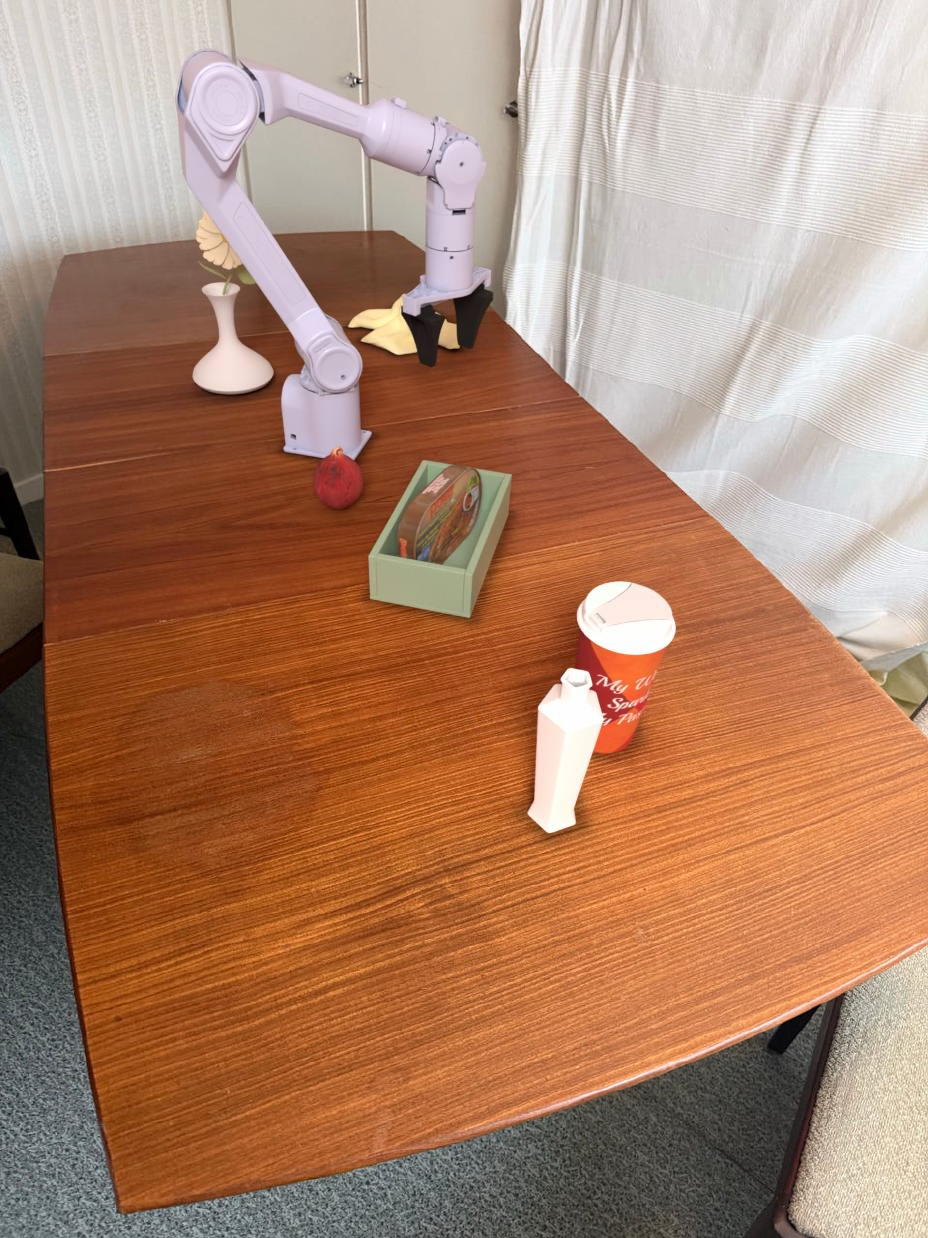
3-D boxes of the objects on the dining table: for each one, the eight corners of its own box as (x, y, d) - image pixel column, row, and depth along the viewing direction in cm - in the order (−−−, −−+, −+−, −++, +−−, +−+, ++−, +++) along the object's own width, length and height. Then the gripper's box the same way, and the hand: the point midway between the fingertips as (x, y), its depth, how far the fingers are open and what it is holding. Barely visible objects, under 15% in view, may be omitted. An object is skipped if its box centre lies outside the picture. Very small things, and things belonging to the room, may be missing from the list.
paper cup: (589, 775, 69) (617, 653, 60) (541, 713, 74) (560, 592, 65) (664, 744, 72) (701, 623, 63) (613, 687, 77) (640, 567, 68)
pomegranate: (356, 526, 95) (353, 464, 90) (308, 518, 96) (302, 457, 91) (370, 499, 99) (368, 439, 94) (324, 492, 100) (319, 432, 95)
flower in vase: (178, 392, 118) (140, 202, 102) (224, 362, 126) (196, 181, 110) (256, 411, 115) (231, 218, 99) (299, 379, 123) (282, 196, 107)
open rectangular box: (369, 599, 85) (368, 556, 82) (422, 499, 100) (422, 459, 96) (469, 618, 84) (472, 575, 80) (508, 514, 98) (512, 474, 95)
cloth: (485, 347, 135) (487, 309, 131) (377, 362, 129) (376, 323, 125) (433, 299, 150) (434, 264, 146) (334, 311, 144) (332, 274, 140)
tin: (417, 591, 86) (418, 523, 80) (391, 581, 87) (390, 514, 81) (483, 520, 96) (487, 456, 91) (459, 513, 97) (461, 448, 92)
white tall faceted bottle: (519, 790, 68) (537, 656, 58) (571, 788, 68) (598, 654, 58) (526, 838, 64) (547, 704, 54) (582, 835, 65) (613, 702, 55)
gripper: (462, 224, 104) (458, 330, 113) (382, 250, 95) (385, 363, 104) (507, 236, 101) (499, 345, 110) (428, 264, 92) (427, 380, 101)
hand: (446, 355), depth 107 cm, fingers open, 7 cm apart
